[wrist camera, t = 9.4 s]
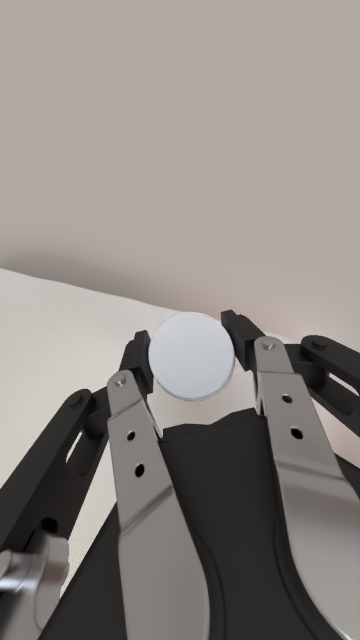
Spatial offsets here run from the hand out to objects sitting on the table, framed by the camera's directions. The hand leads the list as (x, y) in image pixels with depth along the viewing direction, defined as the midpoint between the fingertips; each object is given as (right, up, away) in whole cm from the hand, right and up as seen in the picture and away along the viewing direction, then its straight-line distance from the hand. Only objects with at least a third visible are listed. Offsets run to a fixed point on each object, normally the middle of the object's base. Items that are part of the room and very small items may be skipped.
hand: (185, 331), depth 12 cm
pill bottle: (+1, -3, +5) cm, 6 cm away
